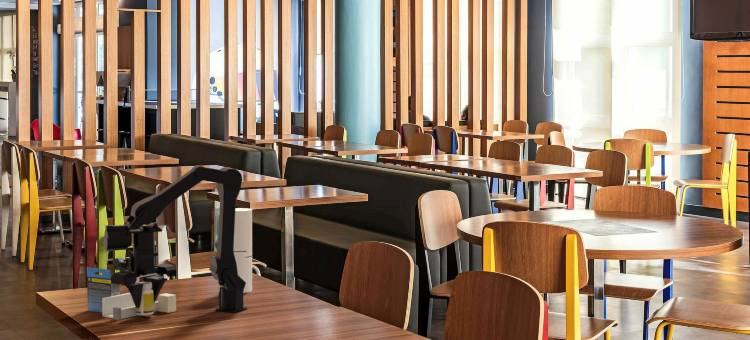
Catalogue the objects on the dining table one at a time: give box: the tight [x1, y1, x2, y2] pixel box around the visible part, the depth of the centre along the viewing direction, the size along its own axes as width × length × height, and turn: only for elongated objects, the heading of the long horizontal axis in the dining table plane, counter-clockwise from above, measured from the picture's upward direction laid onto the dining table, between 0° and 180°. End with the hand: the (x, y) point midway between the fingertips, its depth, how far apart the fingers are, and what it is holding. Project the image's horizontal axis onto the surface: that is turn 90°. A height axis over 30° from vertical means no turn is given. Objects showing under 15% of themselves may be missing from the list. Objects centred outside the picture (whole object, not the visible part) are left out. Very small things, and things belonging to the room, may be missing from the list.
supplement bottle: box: [136, 281, 155, 316], centre depth 284 cm, size 5×5×8 cm
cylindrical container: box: [234, 207, 253, 294], centre depth 322 cm, size 7×7×25 cm
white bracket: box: [101, 292, 177, 321], centre depth 289 cm, size 10×19×5 cm, turn 145°
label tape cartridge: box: [86, 266, 121, 313], centre depth 291 cm, size 9×4×12 cm, turn 62°
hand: (144, 306), depth 285 cm, fingers closed on supplement bottle, 5 cm apart
